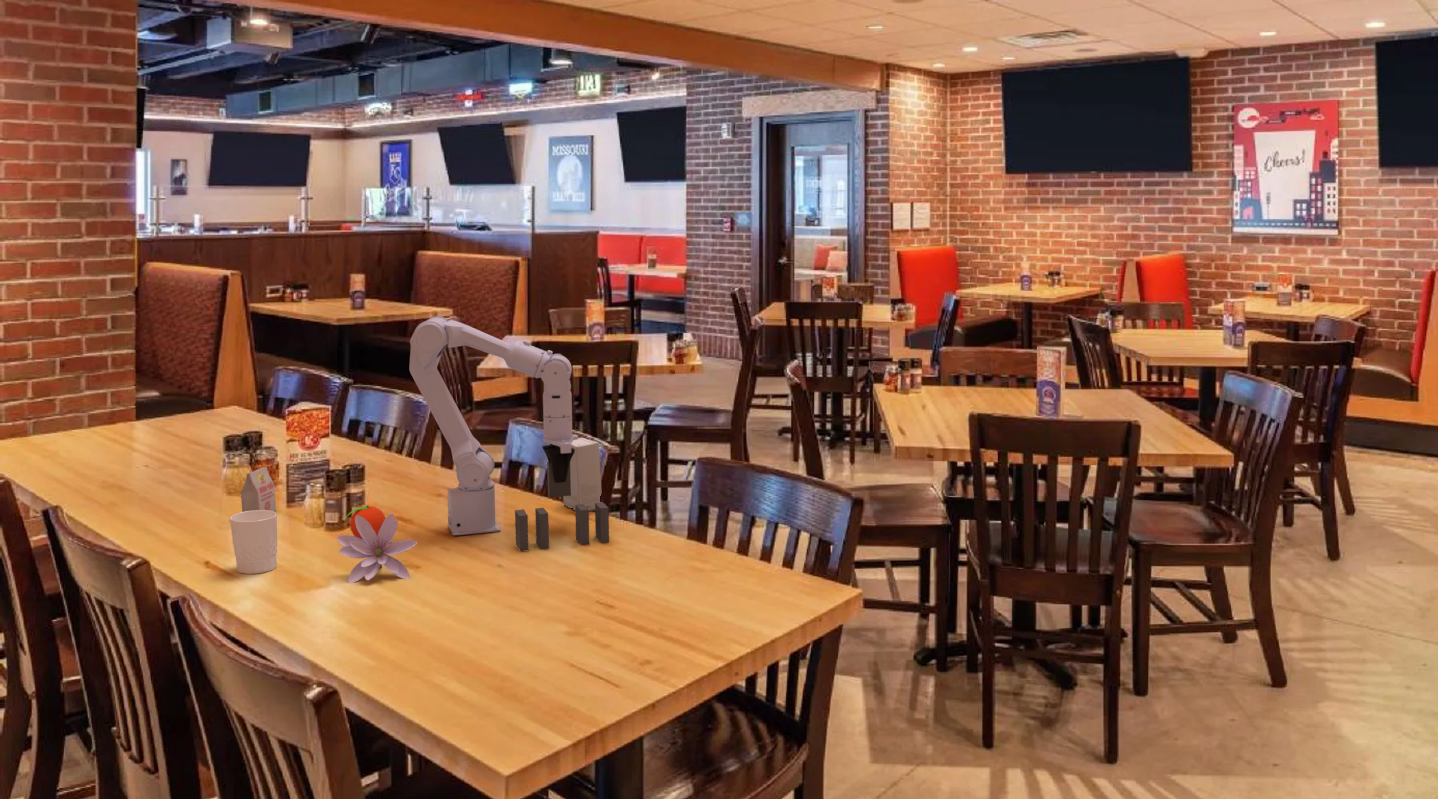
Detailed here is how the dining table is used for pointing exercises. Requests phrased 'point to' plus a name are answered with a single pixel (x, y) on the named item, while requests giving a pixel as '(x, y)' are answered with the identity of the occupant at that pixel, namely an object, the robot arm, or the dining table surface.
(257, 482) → the milk carton
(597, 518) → the tile
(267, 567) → the white cup
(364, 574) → the water lily
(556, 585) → the dining table surface
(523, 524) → the tile
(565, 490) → the tile
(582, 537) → the tile
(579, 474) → the skincare box
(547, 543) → the tile
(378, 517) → the tomato
